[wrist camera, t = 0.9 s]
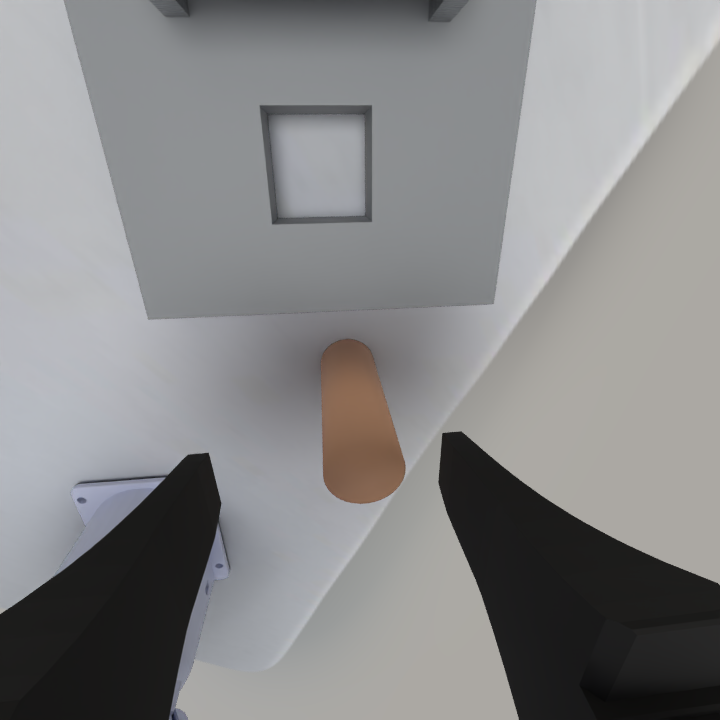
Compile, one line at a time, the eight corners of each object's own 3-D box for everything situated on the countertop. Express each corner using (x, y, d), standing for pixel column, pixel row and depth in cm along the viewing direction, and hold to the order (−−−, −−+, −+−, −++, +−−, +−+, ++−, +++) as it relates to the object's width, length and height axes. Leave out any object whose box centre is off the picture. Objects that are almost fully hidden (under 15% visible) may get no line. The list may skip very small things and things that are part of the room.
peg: (373, 384, 23) (403, 500, 15) (322, 388, 23) (325, 506, 15) (373, 337, 22) (407, 436, 14) (319, 340, 21) (320, 442, 13)
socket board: (474, 290, 21) (493, 304, 19) (167, 302, 20) (148, 319, 17) (521, -105, 14) (558, -156, 12) (65, -126, 13) (14, -188, 11)
